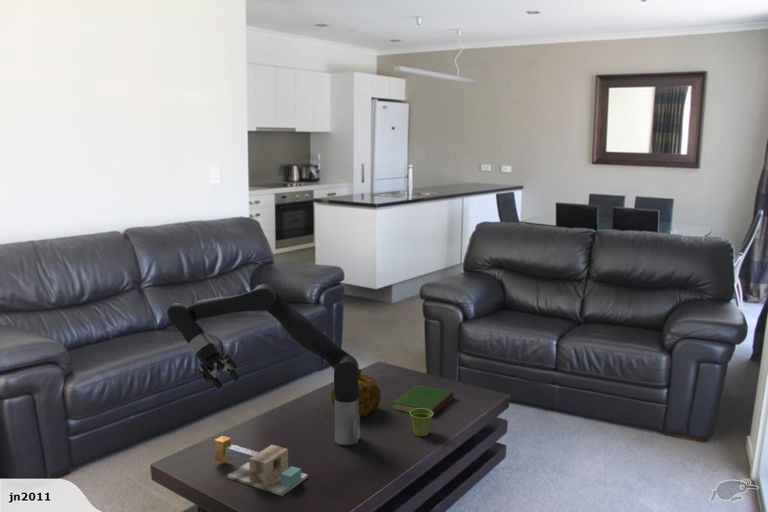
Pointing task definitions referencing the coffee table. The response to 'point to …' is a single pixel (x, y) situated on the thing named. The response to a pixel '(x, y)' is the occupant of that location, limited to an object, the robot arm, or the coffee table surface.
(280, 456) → the bearing block
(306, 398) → the coffee table surface
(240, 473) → the base board
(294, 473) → the block
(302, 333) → the robot arm
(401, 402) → the hardcover book
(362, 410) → the decorative pumpkin
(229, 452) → the shaft
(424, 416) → the plant pot
